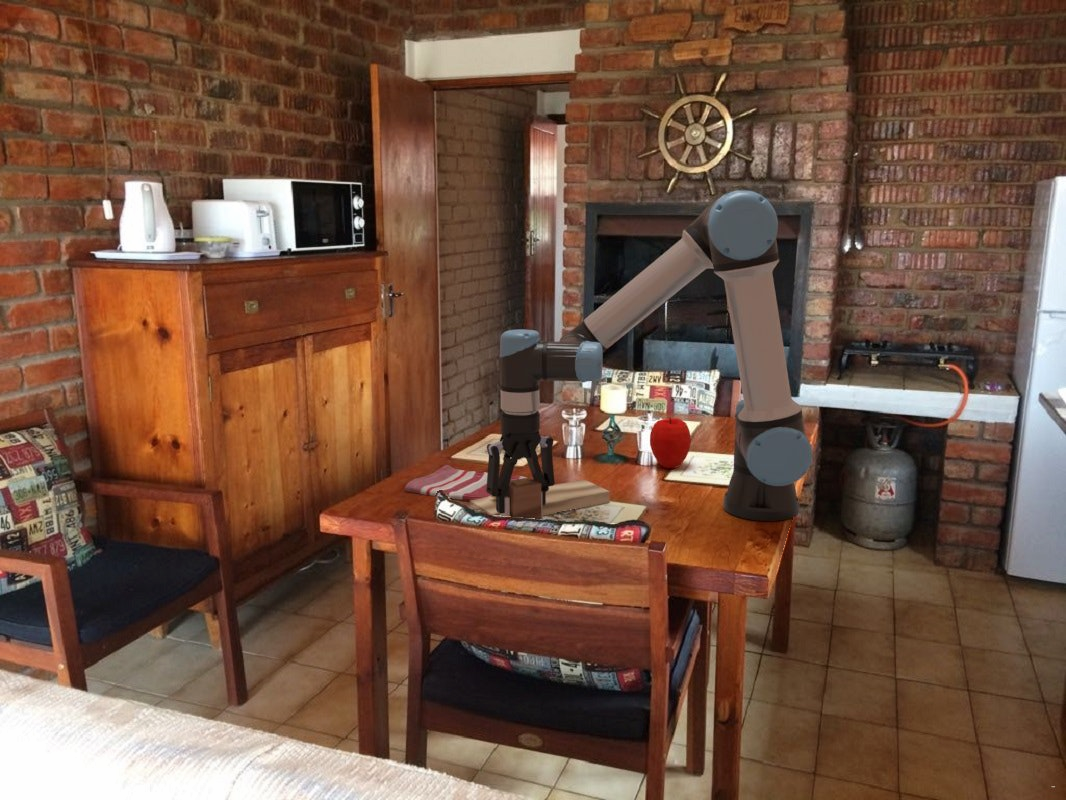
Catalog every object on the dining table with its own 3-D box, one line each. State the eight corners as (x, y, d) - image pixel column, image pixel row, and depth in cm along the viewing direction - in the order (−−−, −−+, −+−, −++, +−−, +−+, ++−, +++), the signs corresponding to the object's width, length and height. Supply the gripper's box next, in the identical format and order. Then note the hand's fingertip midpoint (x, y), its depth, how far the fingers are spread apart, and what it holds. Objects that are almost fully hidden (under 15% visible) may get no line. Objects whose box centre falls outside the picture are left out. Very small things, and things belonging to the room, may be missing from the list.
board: (609, 502, 192) (609, 491, 191) (492, 526, 178) (492, 514, 177) (584, 490, 200) (584, 479, 200) (470, 511, 187) (469, 500, 186)
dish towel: (444, 474, 215) (443, 463, 215) (531, 486, 205) (531, 475, 204) (403, 494, 201) (403, 482, 200) (496, 508, 190) (495, 496, 190)
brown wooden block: (541, 527, 177) (541, 482, 175) (514, 533, 174) (514, 487, 172) (508, 507, 189) (507, 465, 187) (482, 512, 186) (481, 469, 184)
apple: (666, 458, 225) (667, 410, 222) (699, 466, 218) (700, 416, 215) (641, 466, 218) (641, 417, 215) (674, 474, 211) (675, 424, 208)
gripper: (553, 401, 181) (554, 510, 186) (465, 413, 171) (468, 527, 176) (573, 408, 175) (573, 521, 179) (483, 420, 165) (485, 539, 170)
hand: (521, 524), depth 178 cm, fingers open, 7 cm apart
